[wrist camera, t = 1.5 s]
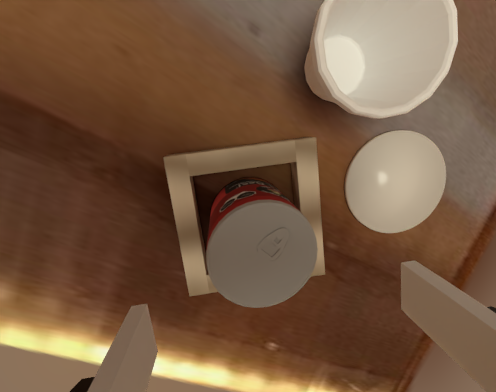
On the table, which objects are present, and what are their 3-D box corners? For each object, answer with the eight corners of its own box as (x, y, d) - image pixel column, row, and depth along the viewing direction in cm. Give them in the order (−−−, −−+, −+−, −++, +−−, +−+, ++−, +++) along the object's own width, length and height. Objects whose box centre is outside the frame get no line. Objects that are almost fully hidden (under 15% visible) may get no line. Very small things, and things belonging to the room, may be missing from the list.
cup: (403, 69, 29) (488, 41, 20) (330, 142, 30) (379, 148, 21) (339, -15, 26) (400, -89, 17) (262, 67, 27) (283, 37, 18)
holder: (167, 154, 28) (163, 157, 26) (307, 136, 29) (316, 137, 27) (191, 283, 32) (189, 296, 29) (317, 263, 32) (325, 274, 30)
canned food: (296, 192, 30) (338, 225, 20) (264, 258, 32) (287, 323, 21) (228, 163, 29) (234, 182, 18) (198, 233, 30) (188, 289, 20)
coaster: (341, 137, 30) (344, 137, 29) (443, 124, 30) (448, 123, 30) (346, 238, 32) (348, 240, 32) (440, 223, 33) (444, 225, 32)
